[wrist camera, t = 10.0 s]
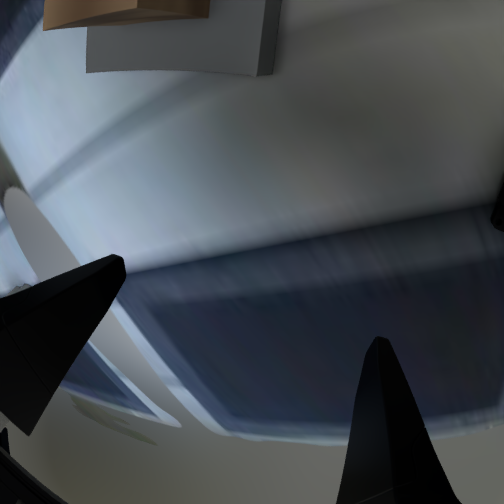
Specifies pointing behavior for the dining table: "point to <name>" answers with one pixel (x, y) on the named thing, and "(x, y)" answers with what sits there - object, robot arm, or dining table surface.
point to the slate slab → (192, 41)
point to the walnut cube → (119, 12)
